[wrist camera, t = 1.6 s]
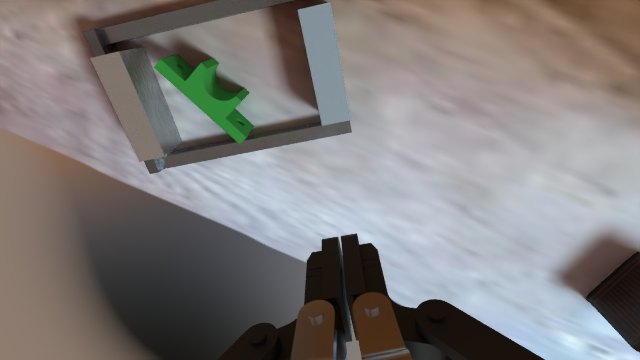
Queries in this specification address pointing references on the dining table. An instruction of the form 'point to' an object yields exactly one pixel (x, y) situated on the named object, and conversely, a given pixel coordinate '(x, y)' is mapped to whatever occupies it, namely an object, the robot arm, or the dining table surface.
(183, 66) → the pipe clamp
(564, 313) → the dining table surface
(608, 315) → the manual coffee grinder
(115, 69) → the vise
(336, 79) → the block
